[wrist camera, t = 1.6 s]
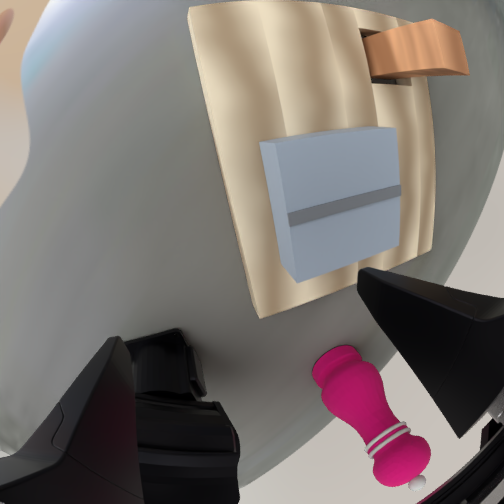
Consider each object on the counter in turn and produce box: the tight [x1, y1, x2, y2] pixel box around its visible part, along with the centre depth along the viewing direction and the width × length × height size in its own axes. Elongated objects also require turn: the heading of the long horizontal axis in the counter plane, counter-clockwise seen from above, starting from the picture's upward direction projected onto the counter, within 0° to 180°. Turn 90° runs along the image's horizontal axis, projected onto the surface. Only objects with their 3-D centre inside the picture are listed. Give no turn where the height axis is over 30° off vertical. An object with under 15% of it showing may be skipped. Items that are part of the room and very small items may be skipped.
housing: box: [259, 126, 401, 283], centre depth 18 cm, size 9×9×3 cm
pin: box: [362, 19, 470, 79], centre depth 14 cm, size 4×4×9 cm
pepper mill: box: [312, 345, 431, 491], centre depth 22 cm, size 7×7×20 cm
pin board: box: [187, 0, 435, 319], centre depth 19 cm, size 20×24×2 cm
